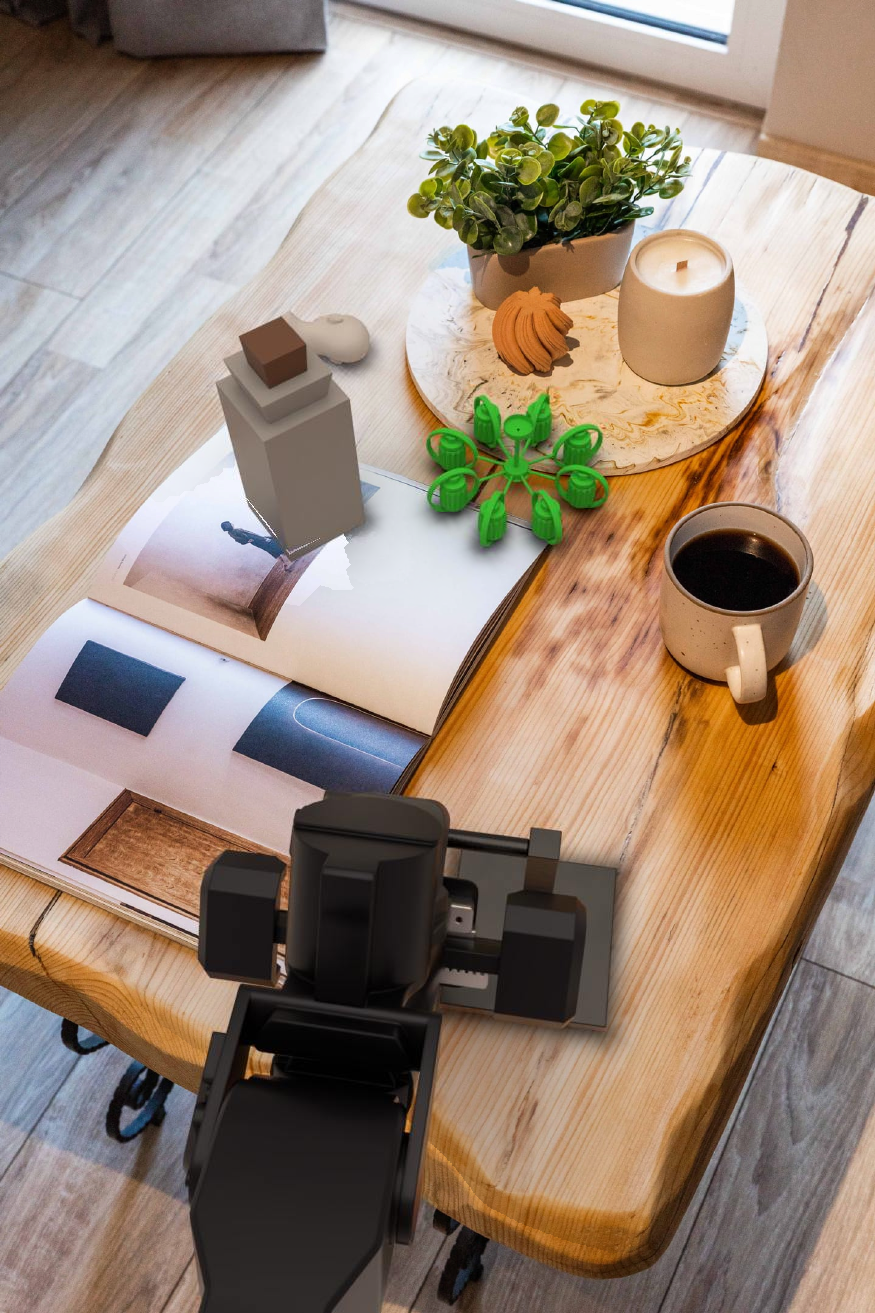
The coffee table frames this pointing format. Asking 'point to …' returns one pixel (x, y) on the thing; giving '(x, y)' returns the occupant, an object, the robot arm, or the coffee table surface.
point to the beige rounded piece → (333, 336)
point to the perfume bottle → (292, 439)
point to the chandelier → (516, 468)
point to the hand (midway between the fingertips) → (414, 868)
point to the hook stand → (537, 868)
